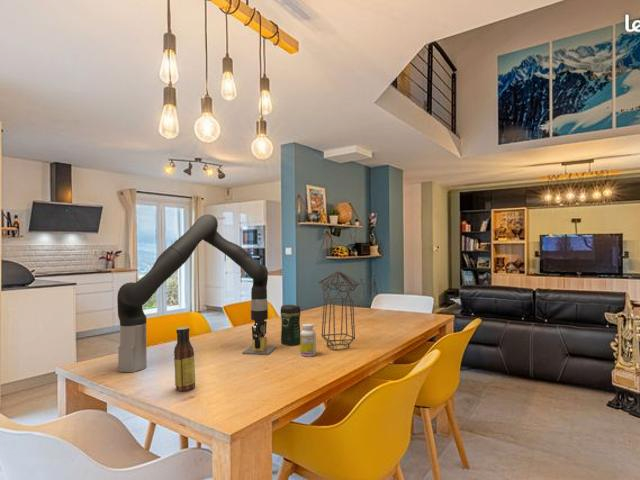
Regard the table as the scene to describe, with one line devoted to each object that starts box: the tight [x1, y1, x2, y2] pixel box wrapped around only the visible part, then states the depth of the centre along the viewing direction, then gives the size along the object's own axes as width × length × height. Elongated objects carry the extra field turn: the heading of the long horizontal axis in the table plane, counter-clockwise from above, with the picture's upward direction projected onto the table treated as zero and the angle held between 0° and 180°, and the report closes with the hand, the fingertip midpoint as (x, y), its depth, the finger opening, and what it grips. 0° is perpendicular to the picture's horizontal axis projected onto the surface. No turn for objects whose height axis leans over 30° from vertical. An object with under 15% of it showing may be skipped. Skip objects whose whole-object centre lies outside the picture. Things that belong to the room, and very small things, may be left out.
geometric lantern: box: [317, 270, 360, 351], centre depth 172 cm, size 16×16×35 cm
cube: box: [252, 336, 268, 351], centre depth 167 cm, size 5×5×5 cm
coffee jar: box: [280, 304, 302, 346], centre depth 180 cm, size 10×8×19 cm
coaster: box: [241, 345, 277, 356], centre depth 167 cm, size 12×12×1 cm
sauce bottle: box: [173, 326, 196, 392], centre depth 123 cm, size 7×6×20 cm
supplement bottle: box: [299, 323, 317, 358], centre depth 160 cm, size 7×7×13 cm
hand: (259, 346), depth 167 cm, fingers open, 5 cm apart
